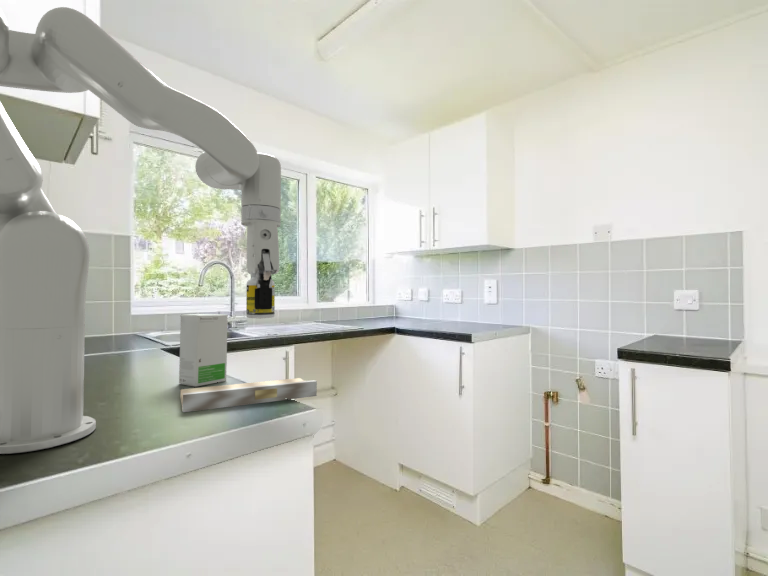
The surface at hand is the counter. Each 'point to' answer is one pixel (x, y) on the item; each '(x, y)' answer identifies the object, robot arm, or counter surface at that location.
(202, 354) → the skincare box
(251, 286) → the supplement bottle
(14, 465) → the counter surface
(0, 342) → the robot arm
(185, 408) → the shelf plank
